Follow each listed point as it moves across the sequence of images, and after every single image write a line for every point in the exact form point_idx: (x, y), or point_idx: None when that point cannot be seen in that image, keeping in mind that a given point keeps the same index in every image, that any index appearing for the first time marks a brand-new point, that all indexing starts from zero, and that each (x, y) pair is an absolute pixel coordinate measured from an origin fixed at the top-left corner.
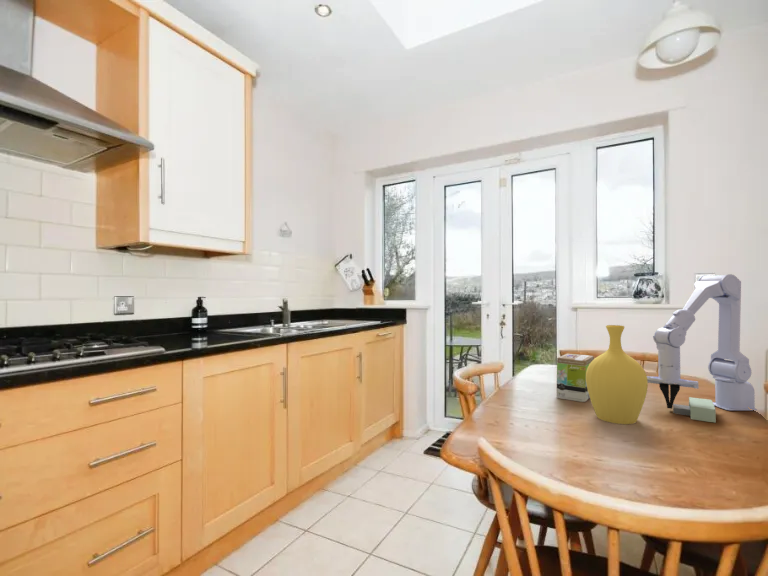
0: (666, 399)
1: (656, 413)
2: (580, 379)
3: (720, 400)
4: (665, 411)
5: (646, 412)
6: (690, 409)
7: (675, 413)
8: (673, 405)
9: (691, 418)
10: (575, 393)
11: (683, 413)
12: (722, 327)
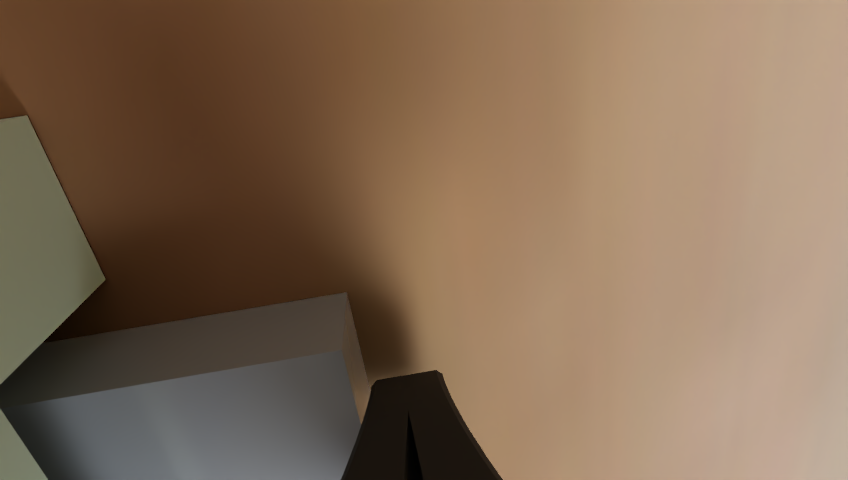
0: (474, 473)
1: (557, 88)
2: None
3: None
4: (453, 315)
5: (707, 29)
6: (8, 328)
7: (319, 300)
8: None
9: (10, 120)
10: None
11: (211, 326)
12: None
